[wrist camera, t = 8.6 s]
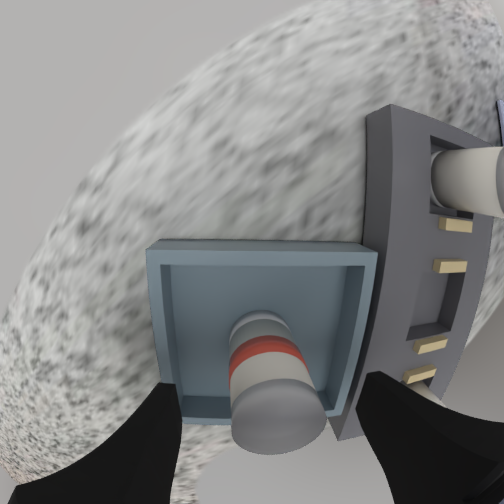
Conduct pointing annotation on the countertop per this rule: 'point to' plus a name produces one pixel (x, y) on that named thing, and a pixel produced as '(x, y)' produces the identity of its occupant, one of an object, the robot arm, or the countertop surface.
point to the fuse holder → (415, 260)
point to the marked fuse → (270, 387)
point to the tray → (250, 299)
